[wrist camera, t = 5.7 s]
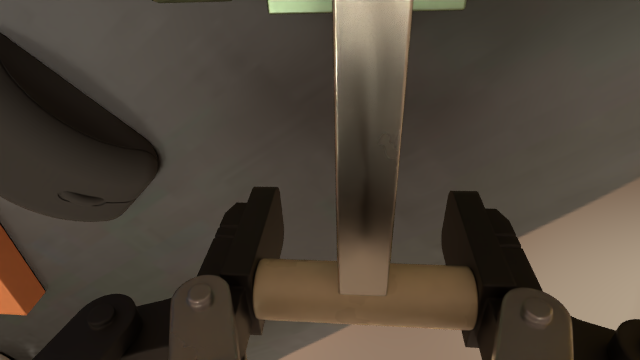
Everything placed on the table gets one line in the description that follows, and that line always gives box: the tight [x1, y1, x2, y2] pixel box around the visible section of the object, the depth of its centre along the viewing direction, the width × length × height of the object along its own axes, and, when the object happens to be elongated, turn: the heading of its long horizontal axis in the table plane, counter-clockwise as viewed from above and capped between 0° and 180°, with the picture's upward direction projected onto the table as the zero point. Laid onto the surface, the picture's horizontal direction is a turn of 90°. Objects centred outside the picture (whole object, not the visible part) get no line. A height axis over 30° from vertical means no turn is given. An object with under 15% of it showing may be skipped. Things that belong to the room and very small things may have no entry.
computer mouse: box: [0, 34, 158, 222], centre depth 20 cm, size 6×11×4 cm, turn 47°
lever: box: [253, 0, 478, 330], centre depth 7 cm, size 11×5×2 cm, turn 2°
